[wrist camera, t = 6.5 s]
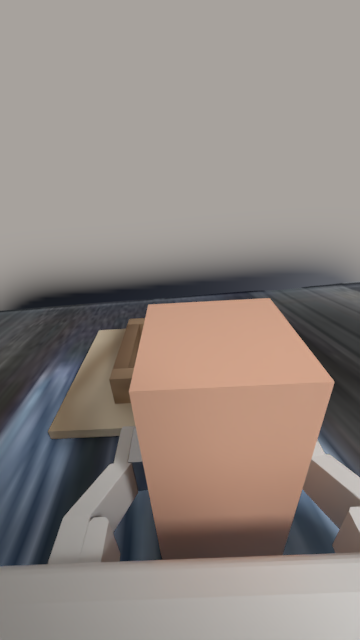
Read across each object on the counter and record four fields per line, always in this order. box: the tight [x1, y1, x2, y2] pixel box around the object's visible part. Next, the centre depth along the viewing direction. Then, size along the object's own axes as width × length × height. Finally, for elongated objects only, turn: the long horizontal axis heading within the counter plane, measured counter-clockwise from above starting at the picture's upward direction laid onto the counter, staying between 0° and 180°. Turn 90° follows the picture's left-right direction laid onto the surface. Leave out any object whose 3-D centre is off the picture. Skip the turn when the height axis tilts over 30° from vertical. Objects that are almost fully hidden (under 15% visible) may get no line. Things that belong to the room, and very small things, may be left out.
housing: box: [48, 318, 145, 439], centre depth 24 cm, size 18×14×3 cm
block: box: [129, 298, 334, 560], centre depth 11 cm, size 4×4×12 cm
